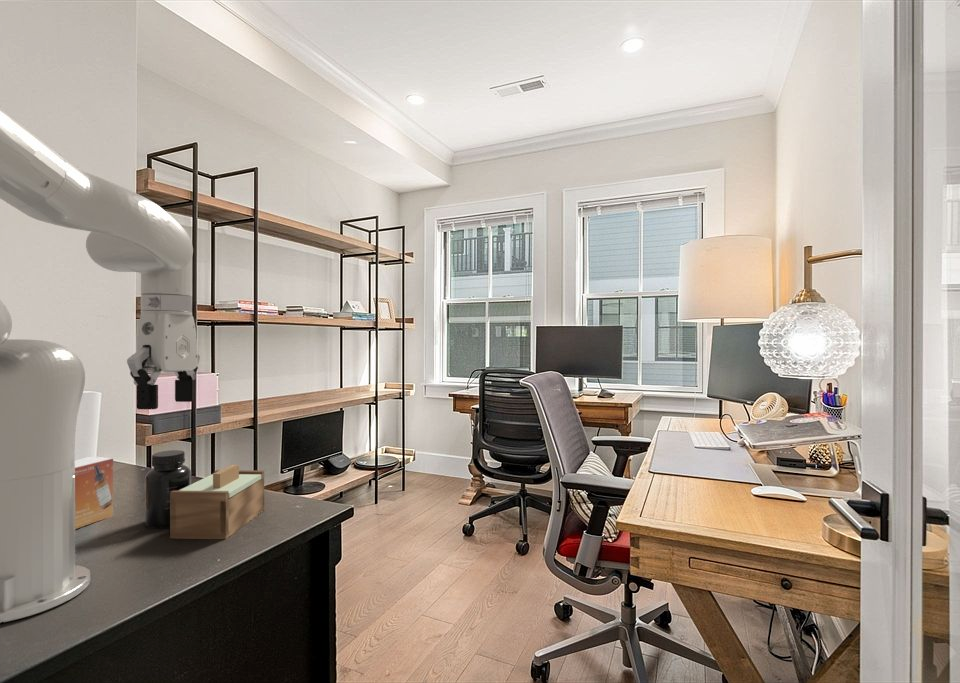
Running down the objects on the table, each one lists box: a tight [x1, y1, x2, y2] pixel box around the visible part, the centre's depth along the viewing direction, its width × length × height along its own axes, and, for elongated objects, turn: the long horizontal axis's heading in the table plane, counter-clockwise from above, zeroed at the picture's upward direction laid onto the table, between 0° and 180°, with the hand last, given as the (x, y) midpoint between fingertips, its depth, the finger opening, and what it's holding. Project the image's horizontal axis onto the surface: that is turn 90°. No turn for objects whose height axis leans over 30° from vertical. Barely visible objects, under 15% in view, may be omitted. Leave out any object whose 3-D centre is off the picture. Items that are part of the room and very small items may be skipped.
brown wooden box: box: [169, 469, 265, 540], centre depth 84 cm, size 13×9×7 cm
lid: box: [179, 463, 261, 498], centre depth 84 cm, size 11×9×3 cm
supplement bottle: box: [144, 449, 192, 529], centre depth 85 cm, size 7×7×12 cm
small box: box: [75, 456, 114, 530], centre depth 84 cm, size 8×6×10 cm
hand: (167, 405), depth 85 cm, fingers open, 9 cm apart
